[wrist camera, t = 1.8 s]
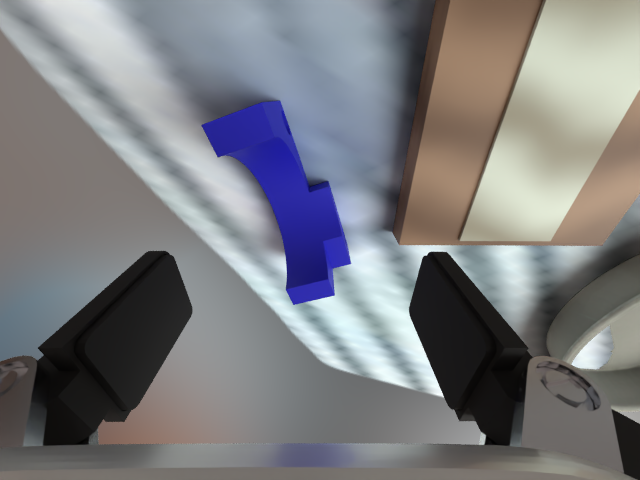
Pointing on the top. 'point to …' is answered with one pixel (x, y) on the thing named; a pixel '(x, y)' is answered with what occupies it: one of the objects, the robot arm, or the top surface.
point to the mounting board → (524, 124)
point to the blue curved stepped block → (287, 196)
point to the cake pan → (594, 316)
